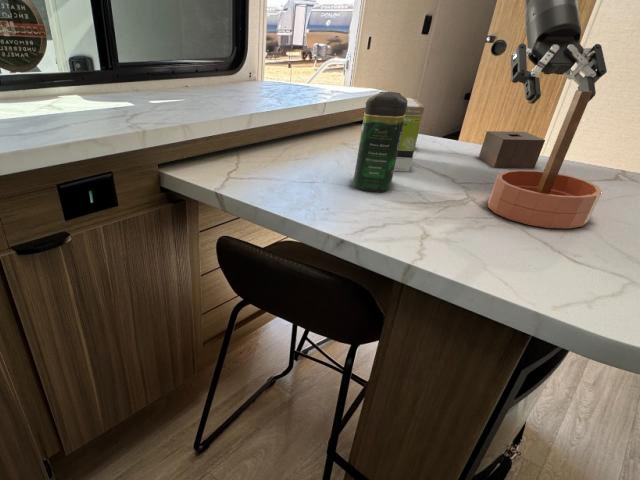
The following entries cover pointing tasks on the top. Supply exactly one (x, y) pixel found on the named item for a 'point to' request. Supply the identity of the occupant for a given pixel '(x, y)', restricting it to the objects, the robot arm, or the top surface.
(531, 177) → the bowl
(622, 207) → the top surface
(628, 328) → the top surface
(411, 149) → the tea box
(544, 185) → the stirring stick
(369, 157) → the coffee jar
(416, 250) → the top surface
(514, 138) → the block
